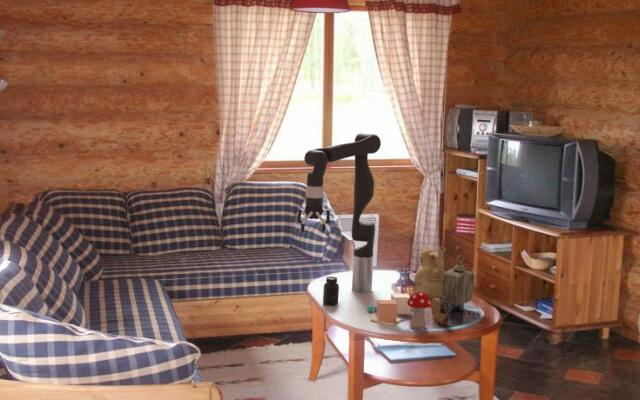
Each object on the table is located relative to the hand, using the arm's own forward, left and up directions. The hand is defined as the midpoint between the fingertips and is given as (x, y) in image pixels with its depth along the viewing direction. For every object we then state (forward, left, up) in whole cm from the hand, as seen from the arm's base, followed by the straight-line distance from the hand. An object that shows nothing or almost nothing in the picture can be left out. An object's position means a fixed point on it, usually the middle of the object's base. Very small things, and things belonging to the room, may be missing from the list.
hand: (312, 232), depth 327 cm
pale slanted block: (-14, +38, -32) cm, 52 cm away
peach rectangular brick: (0, +39, -32) cm, 50 cm away
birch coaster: (0, +39, -32) cm, 50 cm away
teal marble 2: (-8, +30, -32) cm, 45 cm away
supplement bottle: (-4, +8, -32) cm, 34 cm away
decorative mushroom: (-1, +53, -32) cm, 62 cm away
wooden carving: (-13, +57, -32) cm, 67 cm away
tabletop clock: (-34, +56, -32) cm, 73 cm away
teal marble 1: (-6, +28, -32) cm, 43 cm away
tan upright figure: (-47, +37, -32) cm, 68 cm away
